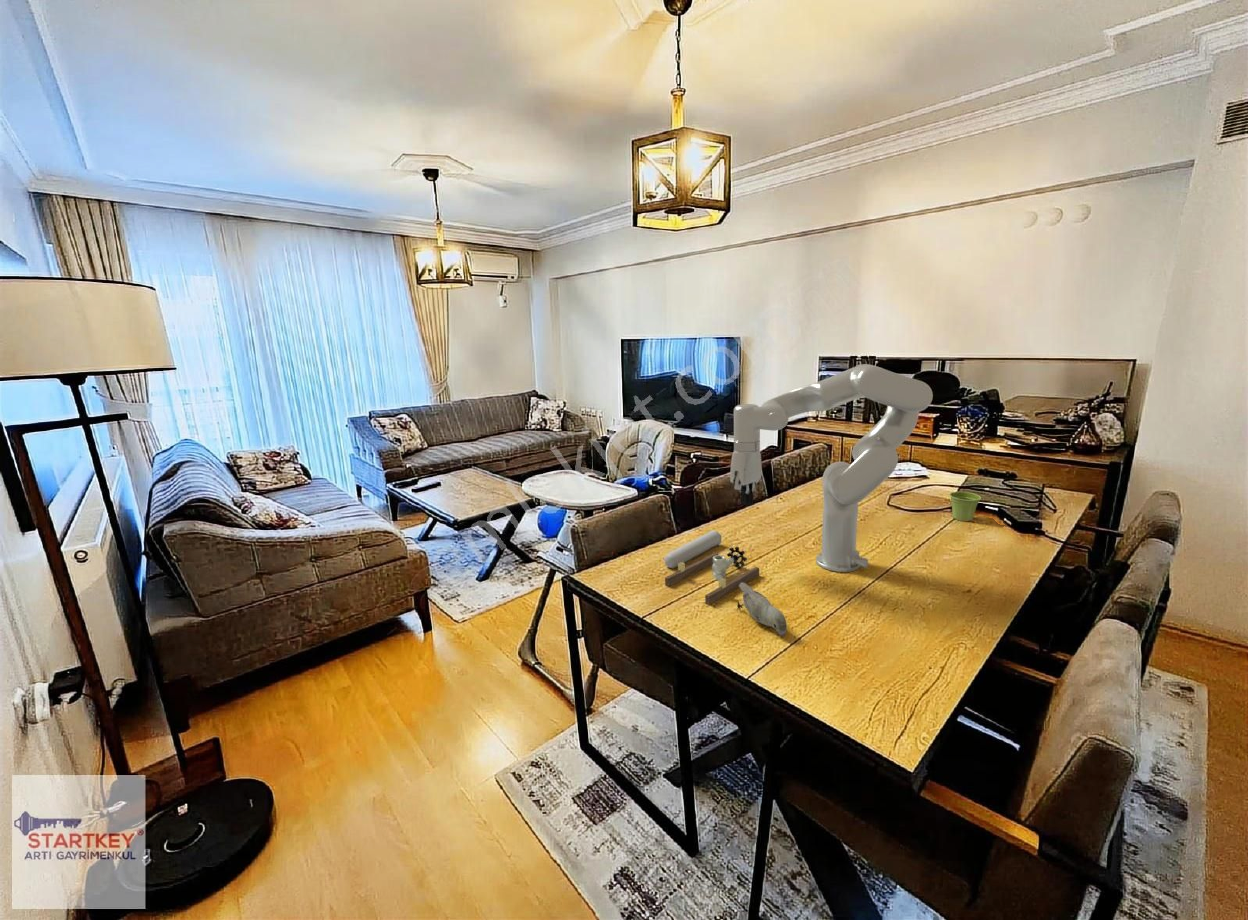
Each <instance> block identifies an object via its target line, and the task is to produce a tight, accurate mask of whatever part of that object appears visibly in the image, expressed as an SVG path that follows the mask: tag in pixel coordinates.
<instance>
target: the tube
mask: <svg viewBox="0 0 1248 920" xmlns="http://www.w3.org/2000/svg"><path fill="white" fill-rule="evenodd" d="M722 540H723V539H722V535H721V533H720V532H719V531H717V530H715V529H711V530H710V531H709V532H707V533H704V534H702V535H700V536H699V537H697V538H695V539H693V540H691V541H690V542H687V543H685V544H683V545H682V546H679V547H678V548H675V549H674V550H671V551H669V552H667V554H666V555H665V557H664V558H663V561H664V565H665V566H666V567H667V568H669V569H675V568H678V563H680V562H683V563H685V564H686V563H687V562H688V561H690V560H692V559H694V558H696V557H698V556H700V555H701V554H704V553H705V552H707V551H709V550H711V549H712V548H715V547H716V546H719V545H720V544H721V543H722Z"/></svg>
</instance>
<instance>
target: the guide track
mask: <svg viewBox="0 0 1248 920" xmlns="http://www.w3.org/2000/svg"><path fill="white" fill-rule="evenodd" d="M716 555H719V553H717V552H714V553H712V554H710V555H707V556H705V557H704V558H701V559H700V560H698V561H696V562H694V563H692V564H689V565H688V566H685V565H686V562H685V563H683V562H680V563H678V567H677V569H678V570H677V571H675V572H674V573H671V574H670V575H667V576H666V577H664V585H665V586H666V587H671V586H672V585H674V584H676V583H679V582H680V581H682V580H685V579H686V578H689V577H690V576H692V575H694V574H696V573H698V572H701V570H704V569H705V568H708V567H709V566H712V565H713V557H714V556H716ZM759 576H760V567H757V566H754V567H753V568H751V569H749V570H748V571H746V572H744V573H742V574H740V575H739V576H737V577H736V578H733V579H732V580H730V581H728V582H727V583H726V581H727V579H726V578H725V579H724V578H721V579H719V580H718V588H716V589H714V590H712V591H711V592H709V593H707V594H705V595H704V599H705V602H704V603H705V605H708V606H710V605H712V604H714V603H715V602H717V601H719V600H721V599H722V598H724V597H726V596H727V595H729V594H730V593H731V594H732V593H733V592H734V591H735V590H738V589H740V587H739V585H740V583H741V582H743V583H746V584H747V583H750V582H751V581H753V580H754V579H756V578H757V577H759Z"/></svg>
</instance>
